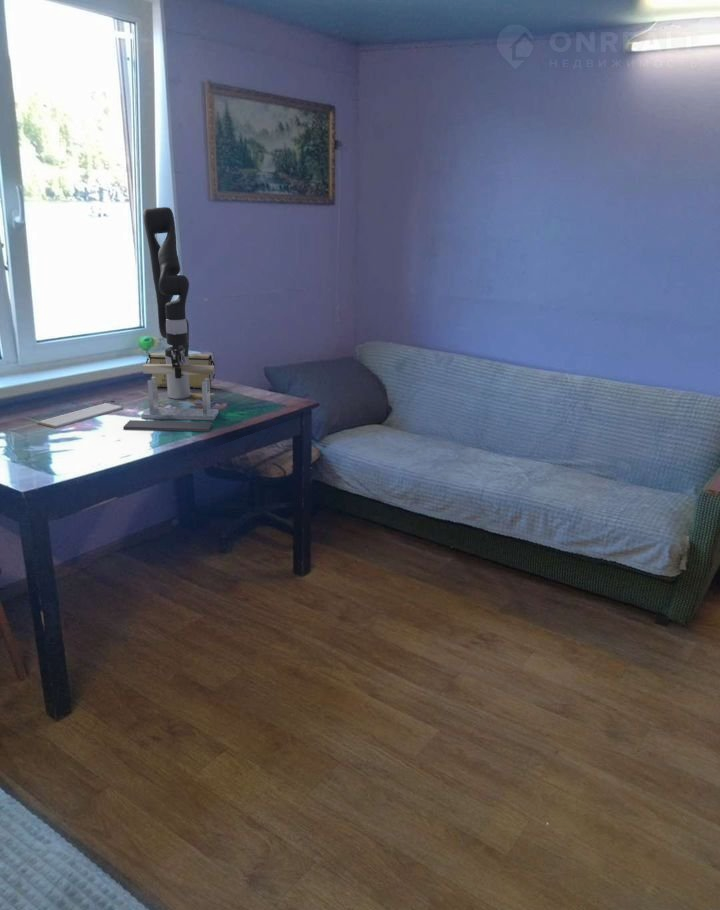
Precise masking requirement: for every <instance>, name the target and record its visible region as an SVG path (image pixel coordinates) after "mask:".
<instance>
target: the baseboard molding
mask: <svg viewBox="0 0 720 910" xmlns="http://www.w3.org/2000/svg"><path fill="white" fill-rule="evenodd" d="M108 402H110V403H108ZM121 405H122V406H121ZM121 405H118V404H115V401H114V400H110V401H107V402H105V401H102V403H101V404H97V405H93V406H90V407H87V408H86V407H85V408H83V409H79V410H75V411H72V412H68V413H64V414H61V415H57V416H54V417H50V418H46V419H43V420H39V421H36V422H35V423H36V424H39V425H41V426H46V427H50V428H53V429H57V428H61V427H64V426H69V425H71V424H75V423H79V422H82V421H85V420H89V419H92V418H96V417H99V416H103V415H106V414H110V413H112V412H117V411H119V410H123V409H124V406H123V403H121Z"/></svg>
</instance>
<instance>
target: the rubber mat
mask: <svg viewBox="0 0 720 910" xmlns="http://www.w3.org/2000/svg"><path fill="white" fill-rule="evenodd" d="M212 426H213V422H207V421H206V422H205V421H201V422H200V421H176V420H175V421H173V420H171V421H170V420H169V421H168V420H167V421H166V420H136V419H134V420H133V419H132V420H131V419H130V420H128V421H127V422H126V423H125V425H123V430H126V431H127V430H131V431H132V430H134V431H135V430H136V431H165V432H166V431H168V432H172V431H174V432H202V433H203V432H207V433H208V432H209V431H210V429H211V428H212Z"/></svg>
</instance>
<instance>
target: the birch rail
mask: <svg viewBox="0 0 720 910" xmlns="http://www.w3.org/2000/svg"><path fill="white" fill-rule="evenodd" d="M176 365H178V364H176ZM142 374H149V375H151V374H175V368H173V367H172V364H150V363H147V364H146V363H144V364H143V365H142ZM181 374H188V375H211V376H214V374H215V375H216V366H215V364H214V365H213V364H212V365H181Z"/></svg>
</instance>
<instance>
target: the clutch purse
mask: <svg viewBox="0 0 720 910" xmlns="http://www.w3.org/2000/svg"><path fill="white" fill-rule="evenodd" d="M188 357H189V365H215V362H214V361H215V359H213V357H212V354H190V353H188ZM148 361H149V364H166V358H165V353H148V354H147V357H146V362H145V364H148ZM189 376H190V387H193V388H194V389H195V388H196V389H197V388H198V389H199V388H200V389H202V382H205V381H204V379H205V378H208V379H209V380H210V389H211V388H212V382H213V381H214V379H215V376H216V373H215V374H214V375H189ZM152 377H157V388H167V374H150V379H151V378H152ZM193 388H192V389H193Z"/></svg>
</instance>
